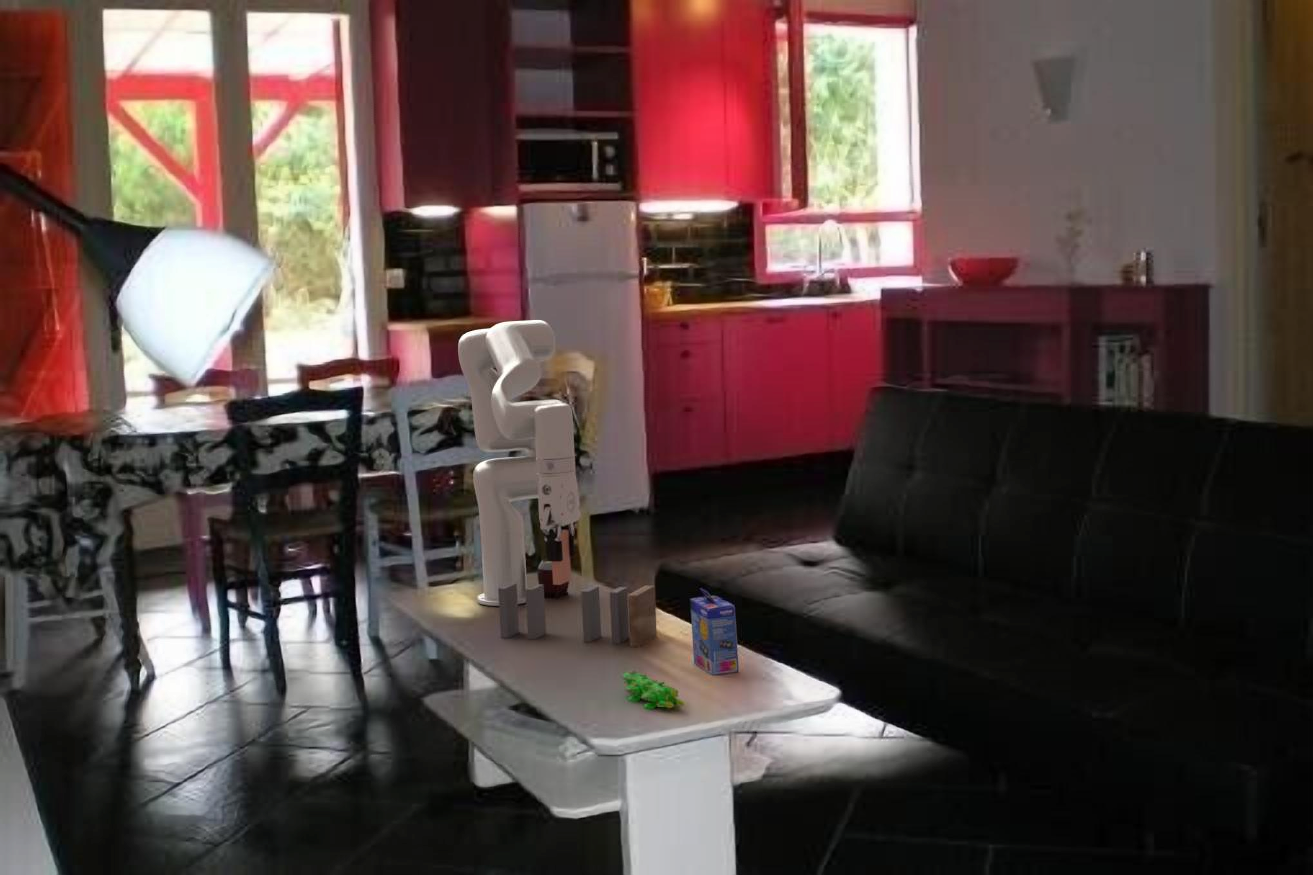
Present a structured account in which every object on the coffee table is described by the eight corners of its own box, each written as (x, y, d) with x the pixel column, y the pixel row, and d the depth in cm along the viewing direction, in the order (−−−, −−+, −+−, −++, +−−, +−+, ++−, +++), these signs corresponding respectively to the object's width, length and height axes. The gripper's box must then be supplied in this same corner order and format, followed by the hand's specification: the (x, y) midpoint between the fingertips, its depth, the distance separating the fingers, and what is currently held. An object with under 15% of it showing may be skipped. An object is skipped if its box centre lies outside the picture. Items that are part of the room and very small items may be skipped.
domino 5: (612, 642, 306) (609, 592, 305) (621, 636, 310) (619, 586, 309) (619, 643, 305) (617, 592, 304) (629, 637, 310) (627, 587, 309)
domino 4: (583, 641, 308) (581, 591, 307) (593, 635, 312) (591, 585, 311) (591, 641, 307) (588, 591, 306) (601, 635, 312) (598, 586, 311)
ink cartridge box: (691, 663, 287) (688, 585, 286) (719, 659, 289) (716, 582, 288) (710, 676, 278) (707, 595, 277) (739, 672, 280) (736, 591, 278)
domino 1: (500, 637, 314) (498, 588, 313) (512, 631, 319) (509, 583, 318) (508, 637, 314) (505, 588, 313) (519, 632, 318) (516, 583, 317)
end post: (630, 646, 302) (627, 595, 301) (647, 635, 310) (645, 585, 309) (640, 646, 301) (637, 595, 300) (656, 635, 310) (654, 585, 309)
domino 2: (528, 638, 312) (525, 589, 311) (538, 632, 317) (536, 584, 316) (535, 639, 312) (532, 589, 310) (546, 633, 316) (543, 584, 315)
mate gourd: (535, 594, 354) (532, 528, 353) (569, 590, 357) (566, 525, 355) (543, 600, 347) (539, 533, 346) (578, 597, 350) (574, 530, 348)
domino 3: (553, 584, 308) (550, 533, 308) (563, 579, 313) (561, 529, 312) (560, 584, 308) (557, 534, 307) (571, 579, 313) (568, 529, 312)
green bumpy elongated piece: (643, 687, 273) (642, 663, 273) (696, 710, 258) (695, 685, 257) (609, 693, 270) (608, 669, 270) (661, 718, 254) (660, 692, 254)
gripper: (555, 472, 299) (560, 567, 301) (590, 461, 315) (595, 551, 317) (519, 472, 302) (524, 566, 304) (556, 461, 317) (561, 550, 319)
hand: (560, 557), depth 310 cm, fingers closed on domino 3, 4 cm apart
